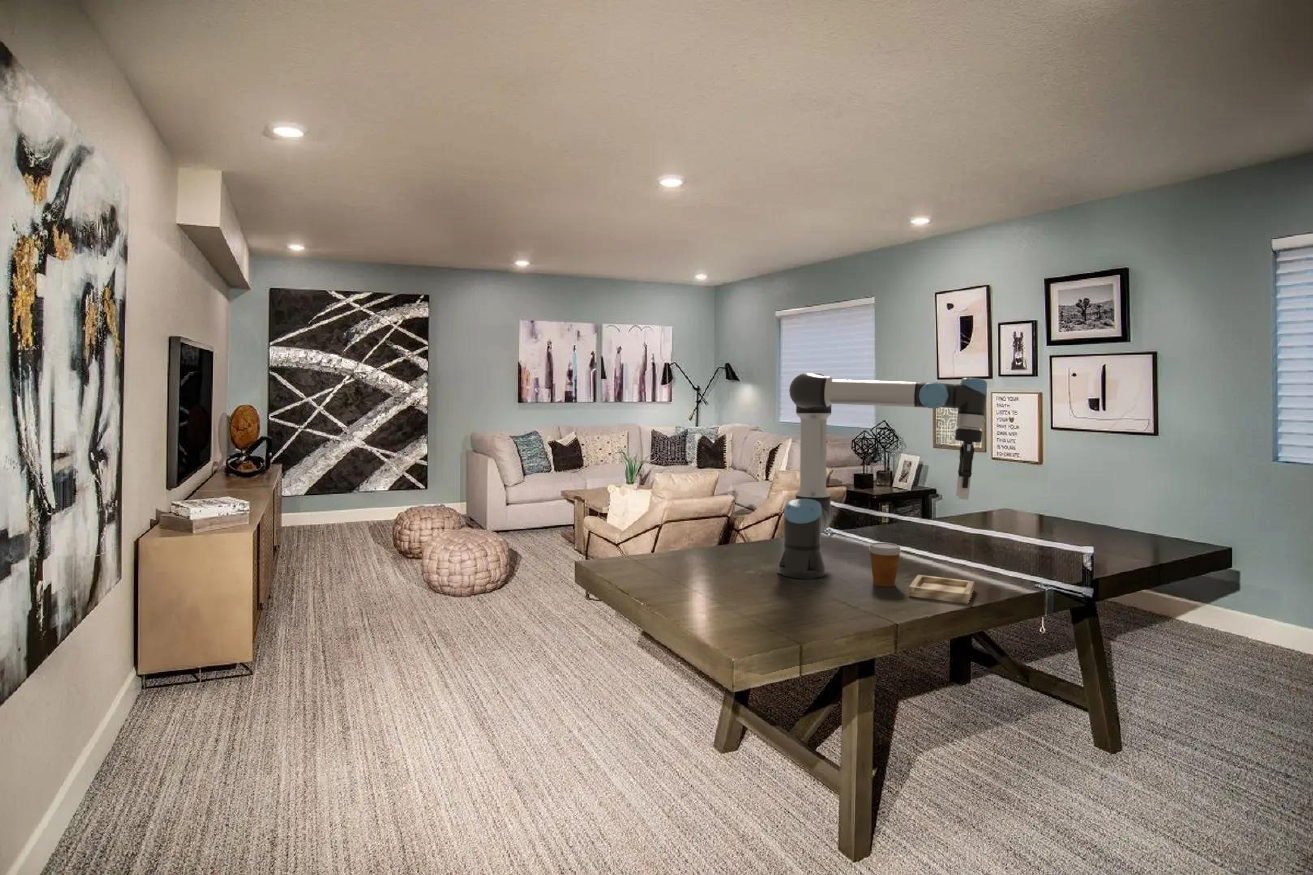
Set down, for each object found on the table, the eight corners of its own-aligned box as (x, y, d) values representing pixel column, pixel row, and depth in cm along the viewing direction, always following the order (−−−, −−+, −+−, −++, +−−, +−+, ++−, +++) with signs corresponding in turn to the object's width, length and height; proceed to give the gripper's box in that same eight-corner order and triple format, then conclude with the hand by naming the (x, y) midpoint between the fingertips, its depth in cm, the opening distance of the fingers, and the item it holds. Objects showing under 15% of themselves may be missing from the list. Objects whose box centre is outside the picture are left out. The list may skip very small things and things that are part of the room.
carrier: (908, 595, 215) (908, 586, 214) (917, 583, 229) (918, 574, 228) (968, 603, 207) (968, 594, 207) (974, 590, 221) (974, 581, 221)
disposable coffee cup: (888, 589, 221) (889, 550, 220) (861, 583, 228) (862, 544, 227) (906, 584, 227) (907, 545, 226) (879, 578, 234) (880, 540, 233)
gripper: (986, 429, 215) (978, 501, 215) (979, 430, 238) (971, 496, 239) (958, 426, 217) (950, 498, 217) (954, 428, 241) (947, 493, 241)
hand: (961, 497), depth 228 cm, fingers open, 13 cm apart
